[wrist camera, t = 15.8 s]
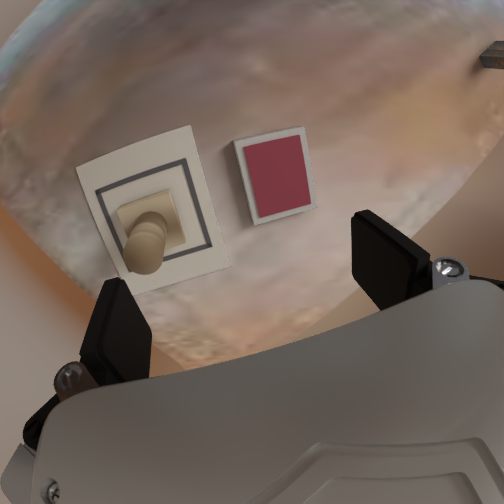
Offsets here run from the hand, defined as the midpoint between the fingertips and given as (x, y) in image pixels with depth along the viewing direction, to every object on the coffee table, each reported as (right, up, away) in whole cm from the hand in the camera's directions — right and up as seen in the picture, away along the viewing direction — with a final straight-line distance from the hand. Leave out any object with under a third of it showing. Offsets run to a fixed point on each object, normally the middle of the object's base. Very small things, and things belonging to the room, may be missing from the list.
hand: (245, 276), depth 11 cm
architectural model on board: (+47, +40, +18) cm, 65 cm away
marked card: (-11, +5, +21) cm, 24 cm away
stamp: (-11, +5, +21) cm, 24 cm away
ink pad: (+3, +10, +22) cm, 24 cm away
